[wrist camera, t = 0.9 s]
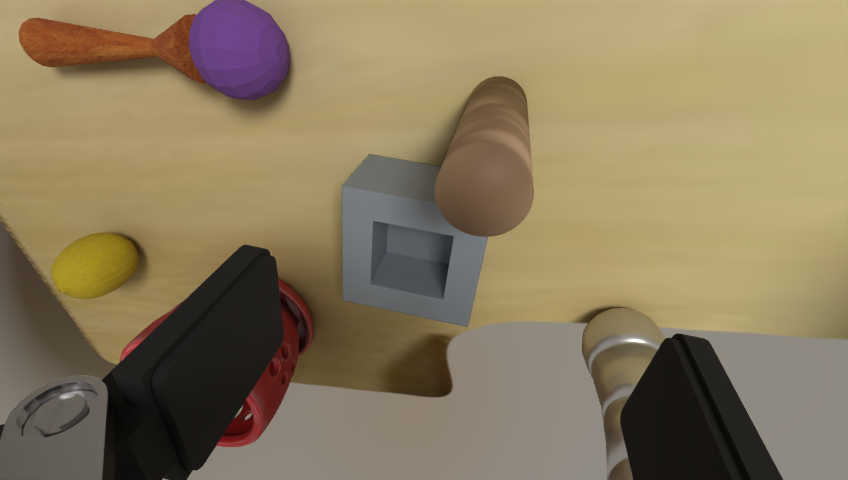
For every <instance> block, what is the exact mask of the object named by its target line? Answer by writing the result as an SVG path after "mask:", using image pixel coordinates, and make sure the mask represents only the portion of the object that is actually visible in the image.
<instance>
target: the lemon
mask: <svg viewBox="0 0 848 480" xmlns="http://www.w3.org/2000/svg"><path fill="white" fill-rule="evenodd" d="M137 264H138V253H137V251H136V249H135V247H134V245H133V242H132V241H130V240H127V239H126V238H124V237H122V236H120V235H117V234H113V233H95V234H91V235H88V236H85V237H83V238H80V239H78V240H76V241H75V242H73V243H71V244H70V245H69V246H68V247H66V248H65V249H64V250H63V251H62V252H61V253H60V254H59V255H58V257H57V258H56V259H55V261H54V263H53V266H52V271H51V274H52V280H53V282H54V284H55V286H56V290H57V291H58V292H59V293H64V294H66V295H68V296H71V297H74V298H80V299H91V298H97V297H100V296H103V295H105V294H108V293H110V292H112V291H114V290H116V289H117V288H119V287H120V286H122V285H123V284H124V283H126V282H127V281H128V280H129V279H130V277H131V276H132V275H133V273H134V272H135V270H136V268H137Z"/></svg>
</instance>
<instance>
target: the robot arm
mask: <svg viewBox="0 0 848 480" xmlns="http://www.w3.org/2000/svg"><path fill="white" fill-rule="evenodd" d="M283 338H284V327H283V318H282V310H281V301H280V292H279V283H278V274H277V266H276V259H275V258H274V257H273V256H270V252H269V251H268V250H267V249H264V248H259V247H254V246H249V245H243V246H241V247H240V248H239V249H238V250H237V251H236V252H235V253H234V254H233V255H231V256H230V257H229V258H228V259H227V260H226V261H225V262H224V263H223V264H222V265H221V266H220V267H219V268H218V269H217V270H216V271H215V272H214V273H213V274H212V275H211V276H210V277H209V278H208V279H206V280H205V281H204V282H203V283H202V284H201V285H200V286H199V287H198V288H197V289H196V290H195V291H194V292H193V293H192V294H191V295H190V296H189V297H188V298H187V299H186V300H185V301H184V302H183V303H181V304H180V305H179V306H178V307H177V308H176V309H175V310H174V311H173V312H172V313H171V314H170V315H169V316H168V317H167V318H166V319H165V320H164V321H163V322H162V323H161V324H160V325H159V326H157V327H156V328H155V329H154V330H153V331H152V332H151V333H150V334H149V335H148V336H147V337H146V338H145V339H144V340H143V341H142V342H141V343H140V344H139V345H138V346H137V347H136V348H135V349H134V350H132V351H131V352H130V353H129V354H128V355H127V356H126V357H125V358H124V359H123V360H122V361H121V362H120V363H119V364H118V365H117V366H116V367H115V368H114V369H113V370H112V371H111V372H110V373H109V374H108V375H107V376H106V377H105V378H104V379H103V380H101V379H99V378H96V377H93V376H87V375H86V376H84V375H76V376H71V377H65V378H62V379H59V380H56V381H53V382H51V383H48V384H46V385H45V386H42V387H41V388H39V389H37V390H35V391H33V392H32V393H31V394H29V395H28V396H27V397H25V398H24V399H23V400H22V401H20V402H19V403H18V405H17V406H16V407H15V408H14V409H13V410H12V411H11V412H10V414H9V416H8V418H7V420H6V422H5V424H3V425H0V480H162V479H163V478H165V479H168V480H187V478H188V477H189V475H190V474H191V472H192V470H198V469H200V468H201V467H202V466H203V465H204V463H205V462H206V460H207V459H208V457H209V456H210V454H211V452H212V451H213V450H214V448H215V446H216V445H217V443H218V442H219V440H220V439H221V437H222V436H223V434H224V433H225V431H226V430H227V428H228V426H229V425H230V423H231V422H232V420H233V419H234V417H235V416H236V414H237V413H238V411H239V409H240V408H241V406H242V405H243V403H244V402H245V400H246V399H247V397H248V396H249V394H250V393H251V391H252V389H253V388H254V386H255V385H256V383H257V382H258V380H259V379H260V377H261V376H262V374H263V372H264V371H265V369H266V368H267V366H268V365H269V363H270V362H271V360H272V359H273V357H274V356H275V354H276V352H277V351H278V349H279V348H280V346H281V344H282V342H283ZM620 424H621V429H622V434H623V438H624V442H625V446H626V451H627V455H628V459H629V464H630V468H631V472H632V477H633V480H783V479H782V477H781V475H780V473H779V471H778V469H777V467H776V466H775V464H774V462H773V460H772V458H771V456H770V455H769V453H768V451H767V449H766V447H765V445H764V443H763V441H762V439H761V438H760V436H759V434H758V432H757V430H756V428H755V426H754V425H753V422H752V421H751V419H750V417H749V415H748V413H747V411H746V409H745V408H744V406H743V404H742V402H741V400H740V398H739V396H738V394H737V392H736V391H735V389H734V387H733V385H732V383H731V381H730V379H729V377H728V376H727V374H726V372H725V370H724V368H723V366H722V364H721V363H720V361H719V359H718V357H717V355H716V353H715V351H714V349H713V347H712V346H711V344H710V343H709V341H708V340H706V339H703V338H698V337H693V336H689V335H684V334H675V335H674V336H673V337H672V338H666V339H664V341H663V342H662V343H661V345H660V347H659V348H658V350H657V352H656V353H655V355H654V357H653V358H652V360H651V362H650V363H649V365H648V367H647V368H646V370H645V372H644V373H643V375H642V377H641V378H640V380H639V382H638V383H637V385H636V387H635V388H634V390H633V392H632V393H631V395H630V397H629V398H628V400H627V402H626V403H625V405H624V407H623V408H622V410H621V414H620Z"/></svg>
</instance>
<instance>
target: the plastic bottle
mask: <svg viewBox="0 0 848 480" xmlns="http://www.w3.org/2000/svg"><path fill="white" fill-rule="evenodd" d="M664 339H665V337H664V335H663V333H662V332H661V331H660V329H659V328H658V326H657V325H656V324H655V322H654V321H653V320H652V319H651V318H649V317H648V316H647V315H644V314H642V313H640V312H638V311H635V310H632V309H627V308H614V309H609V310H606V311H603V312H601V313H599V314H598V315H596V316H595V317H594V318H593V319H592V320H591V321H590V322H589V323H588V324H587V326H586V327H585V329H584V332H583V340H582V342H583V343H582V353H583V356H584V359H585V362H586V365H587V367H588V370H589V372H590V374H591V376H592V378H593V380H594V384H595V387H596V391H597V394H598V398H599V401H600V404H601V409H602V417H603V421H604V431H605V438H606V453H607V454H606V455H607V480H633V477H632V472H631V468H630V464H629V459H628V455H627V451H626V446H625V442H624V438H623V434H622V429H621V424H620V414H621V410H622V408H623V407H624V405H625V403H626V402H627V400H628V398H629V397H630V395H631V393H632V392H633V390H634V388H635V387H636V385H637V383H638V382H639V380H640V378H641V377H642V375H643V373H644V372H645V370H646V368H647V367H648V365H649V363H650V362H651V360H652V358H653V357H654V355H655V353H656V352H657V350H658V348H659V347H660V345H661V343H662V342H663V341H664Z"/></svg>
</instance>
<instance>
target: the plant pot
mask: <svg viewBox="0 0 848 480" xmlns="http://www.w3.org/2000/svg"><path fill="white" fill-rule="evenodd" d="M278 283H279V292H280V301H281V310H282V318H283V327H284V338H283V342H282V344H281V346H280V348H279V349H278V351H277V352H276V354H275V356H274V357H273V359H272V360H271V362H270V363H269V365H268V366H267V368H266V369H265V371H264V372H263V374H262V376H261V377H260V379H259V380H258V382H257V383H256V385H255V386H254V388H253V389H252V391H251V393H250V394H249V396H248V397H247V399H246V400H245V402H244V403H243V409H242V411H241V412H240V414H239V415H238V416H237V417H235V418H234V419H233V420H232V422H231V423H230V425H229V426H228V428H227V430H226V431H225V433H224V434H223V436H222V437H221V439H220V440H219V442H218V443H217V446H223V447H240V446H244V445H248V444H250V443H252V442H254V441H256V440H257V439H258V438H259V437H260V436H261V434H262V433H263V431H264V430H265V429H266V427H267V426H268V424H269V423H270V421H271V420H272V418H273V417H274V415H275V413H276V411H277V410H278V408H279V406H280V404H281V402H282V400H283V398H284V395H285V393H286V391H287V388H288V386H289V383H290V381H291V379H292V376H293V374H294V371H295V368H296V364H297V359H298V356H300V355H301V354H303V353H304V352H305V351H306V350H307V349H308V348H309V346H310V344H311V342H312V339H313V322H312V317H311V314H310V312H309V310H308V308H307V306H306V304H305V303H304V301H303V300H302V299H301V297H300V296H299V295H298V294H297V293H296V292H295V291H294V290H293V289H292V288H291V287H289V286H288V285H287V284H285V283H284V282H282V281H281V280H279V279H278ZM183 302H184V301H183ZM183 302H181V303H183ZM181 303H180V304H181ZM180 304H179V305H180ZM179 305H177V306H176V307H175V308H174V309H172V310H171V311H170V312H168V313H166V314H165V315H163V316H162V317H160V318H158V319H157V320H155V321H154V322H153V323H152V324H150V325H149V326H148V327H147V328H145V329H144V330H143V331H142V332H141V333H140V334H139V335H137V336H136V337H135V338H134V339H133V340H132V341H131V342H130V343H129V344H128V345H127V346H126V347H125V348H124V350H123V351H122V354H121V357H120V362H121V361H122V360H123V359H124V358H125V357H126V356H127V355H128V354H129V353H130V352H131V351H132V350H134V349H135V348H136V347H137V346H138V345H139V344H140V343H141V342H142V341H143V340H144V339H145V338H146V337H147V336H148V335H149V334H150V333H151V332H152V331H153V330H154V329H155V328H156V327H157V326H159V325H160V324H161V323H162V322H163V321H164V320H165V319H166V318H167V317H168V316H169V315H170V314H171V313H172V312H173V311H174V310H175V309H176V308H177V307H178V306H179ZM250 413H252V415H251V417H250V418H249V419H247V420H245V417H246V416H247V415H248V414H250Z"/></svg>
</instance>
